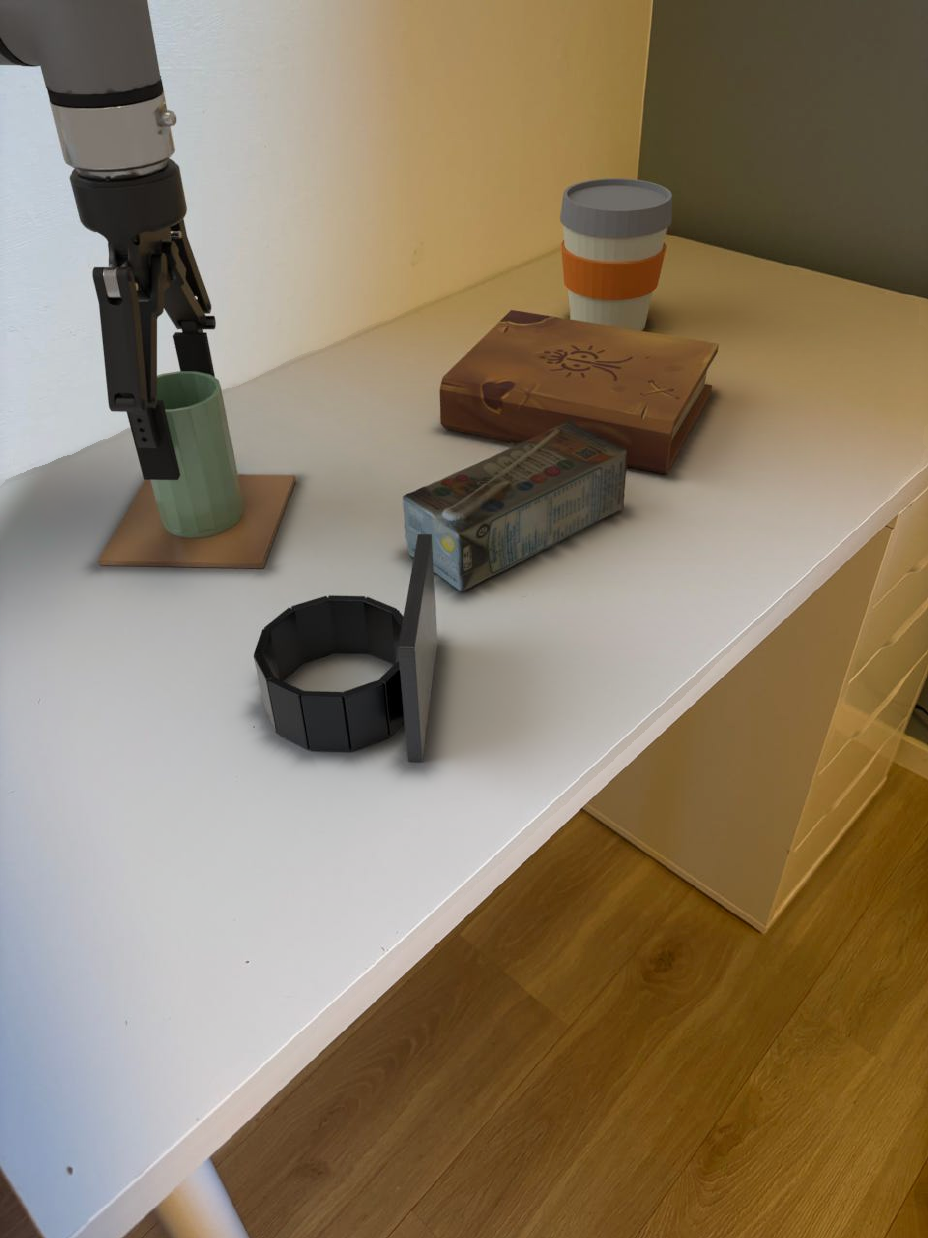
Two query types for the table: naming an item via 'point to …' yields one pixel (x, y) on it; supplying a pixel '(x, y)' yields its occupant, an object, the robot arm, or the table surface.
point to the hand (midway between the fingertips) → (184, 438)
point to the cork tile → (234, 548)
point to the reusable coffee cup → (613, 248)
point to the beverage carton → (516, 503)
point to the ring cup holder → (355, 630)
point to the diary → (580, 385)
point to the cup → (198, 458)
